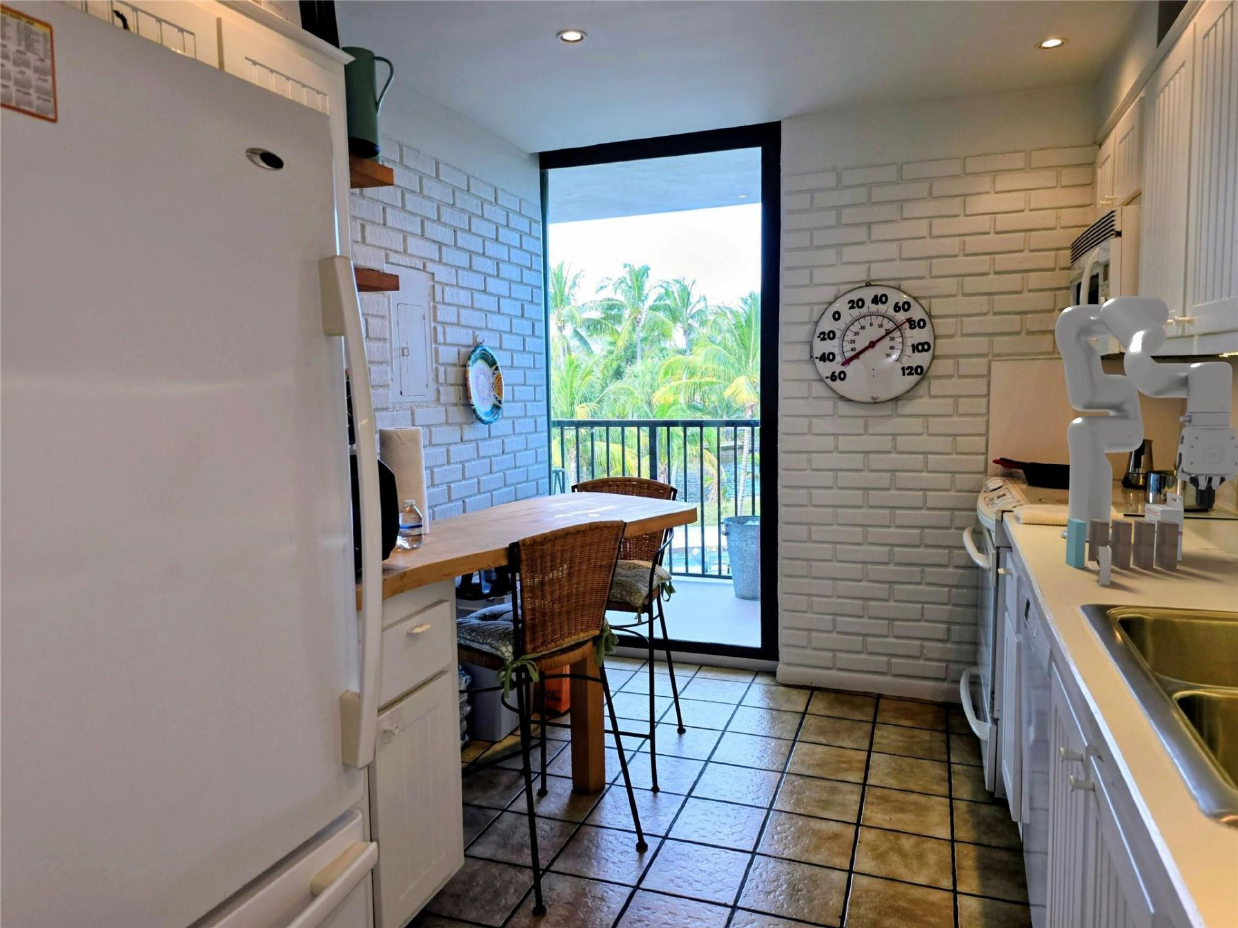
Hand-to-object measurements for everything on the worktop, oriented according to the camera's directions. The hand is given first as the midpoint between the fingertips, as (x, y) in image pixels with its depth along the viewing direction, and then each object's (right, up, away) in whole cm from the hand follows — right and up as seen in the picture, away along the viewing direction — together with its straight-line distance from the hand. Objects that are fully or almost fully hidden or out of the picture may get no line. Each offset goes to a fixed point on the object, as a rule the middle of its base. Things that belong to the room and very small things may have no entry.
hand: (1204, 507), depth 170 cm
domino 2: (-20, -13, +5) cm, 24 cm away
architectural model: (-27, -15, -8) cm, 32 cm away
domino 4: (-11, -13, +4) cm, 17 cm away
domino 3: (-15, -13, +5) cm, 21 cm away
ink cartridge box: (0, -12, +14) cm, 19 cm away
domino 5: (-6, -13, +3) cm, 15 cm away
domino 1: (-24, -13, +6) cm, 28 cm away
